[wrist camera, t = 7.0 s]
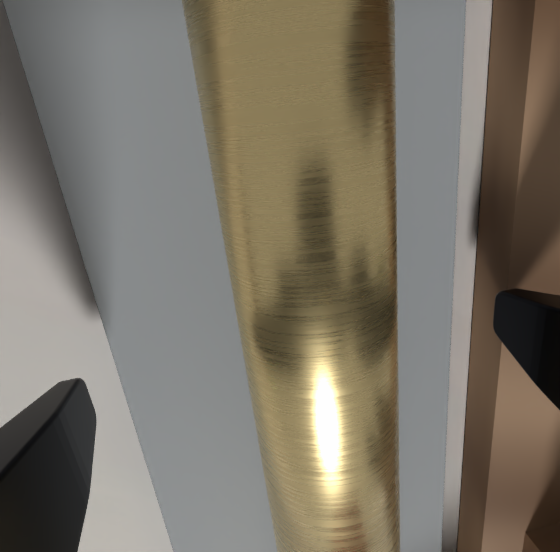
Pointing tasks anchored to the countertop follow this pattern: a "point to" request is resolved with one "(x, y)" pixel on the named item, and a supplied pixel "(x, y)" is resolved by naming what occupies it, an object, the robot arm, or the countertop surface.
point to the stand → (515, 274)
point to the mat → (212, 257)
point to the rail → (311, 251)
